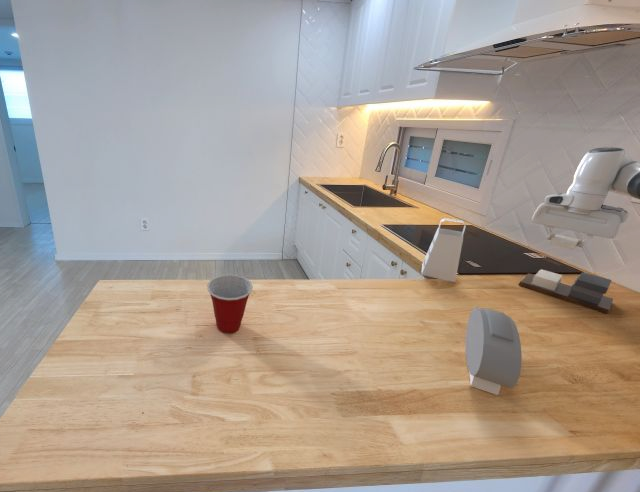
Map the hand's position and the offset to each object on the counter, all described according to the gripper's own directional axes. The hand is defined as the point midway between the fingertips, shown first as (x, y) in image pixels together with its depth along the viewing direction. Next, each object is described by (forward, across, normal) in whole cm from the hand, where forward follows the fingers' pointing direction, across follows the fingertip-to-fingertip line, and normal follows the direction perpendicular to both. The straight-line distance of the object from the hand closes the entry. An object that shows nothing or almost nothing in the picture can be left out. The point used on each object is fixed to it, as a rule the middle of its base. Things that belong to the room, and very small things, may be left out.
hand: (564, 242), depth 110 cm
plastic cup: (+17, +44, +104) cm, 114 cm away
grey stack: (+15, -10, 0) cm, 18 cm away
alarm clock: (+17, 0, +67) cm, 69 cm away
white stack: (+15, 0, 0) cm, 15 cm away
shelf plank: (+16, -5, 0) cm, 17 cm away
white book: (0, 0, 0) cm, 0 cm away
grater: (+17, +27, +21) cm, 38 cm away
